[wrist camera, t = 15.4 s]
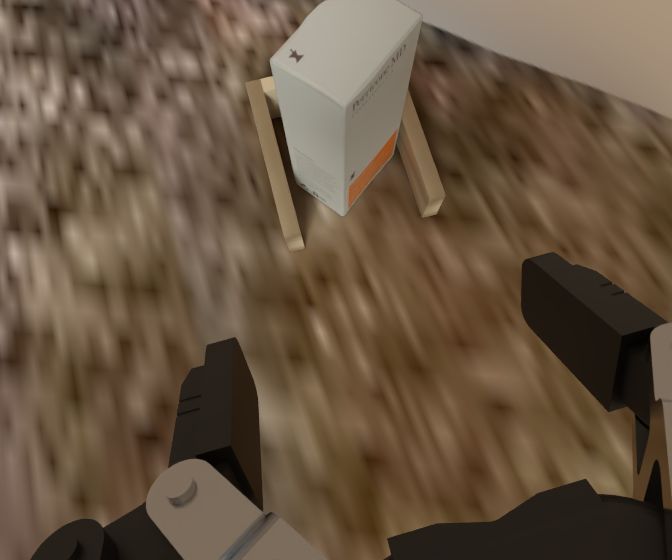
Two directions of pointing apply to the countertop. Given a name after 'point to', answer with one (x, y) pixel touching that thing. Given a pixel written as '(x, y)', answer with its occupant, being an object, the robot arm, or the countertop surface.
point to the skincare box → (345, 93)
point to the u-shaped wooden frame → (408, 142)
